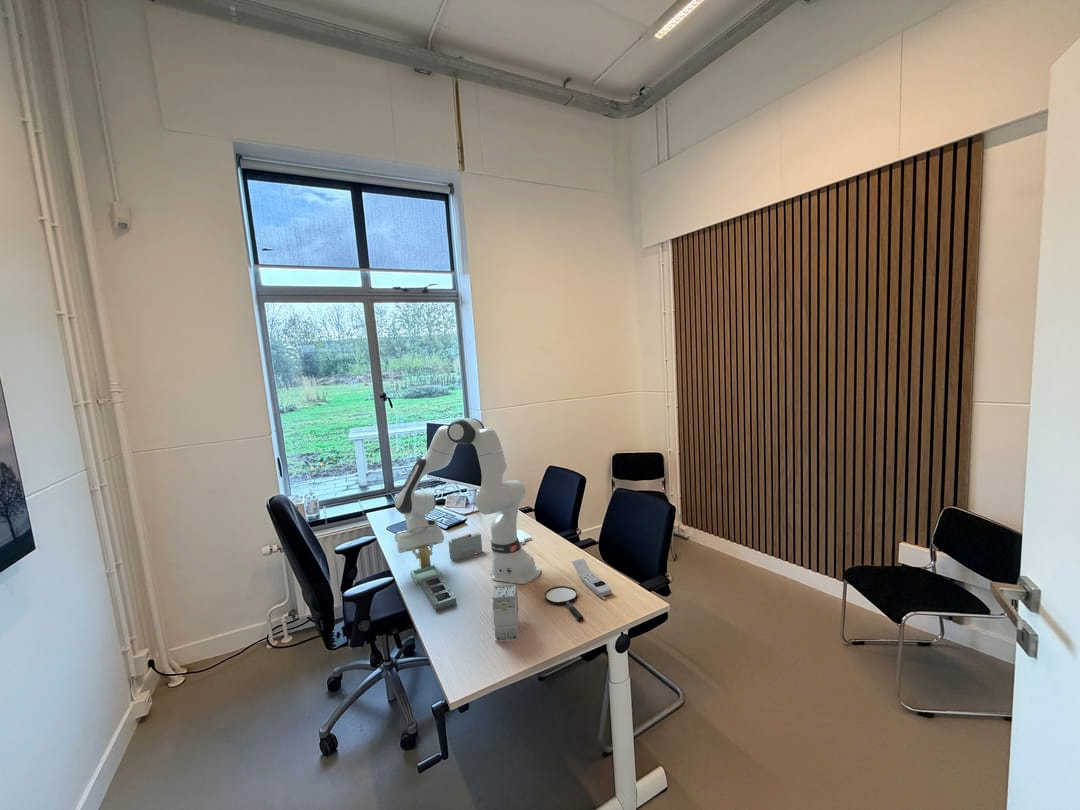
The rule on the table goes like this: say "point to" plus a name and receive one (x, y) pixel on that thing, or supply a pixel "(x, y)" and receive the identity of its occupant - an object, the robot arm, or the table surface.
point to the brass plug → (424, 557)
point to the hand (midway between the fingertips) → (424, 556)
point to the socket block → (438, 593)
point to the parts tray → (425, 573)
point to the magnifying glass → (563, 599)
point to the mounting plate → (523, 536)
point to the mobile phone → (591, 579)
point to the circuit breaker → (505, 612)
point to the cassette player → (465, 546)
